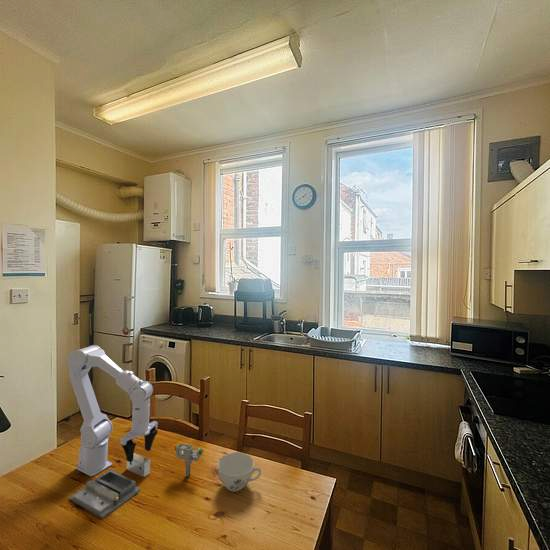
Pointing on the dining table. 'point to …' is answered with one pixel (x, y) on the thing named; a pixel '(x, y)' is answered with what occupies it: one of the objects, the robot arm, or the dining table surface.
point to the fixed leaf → (105, 493)
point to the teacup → (236, 470)
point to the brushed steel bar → (139, 465)
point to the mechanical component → (187, 455)
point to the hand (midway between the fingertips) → (139, 455)
